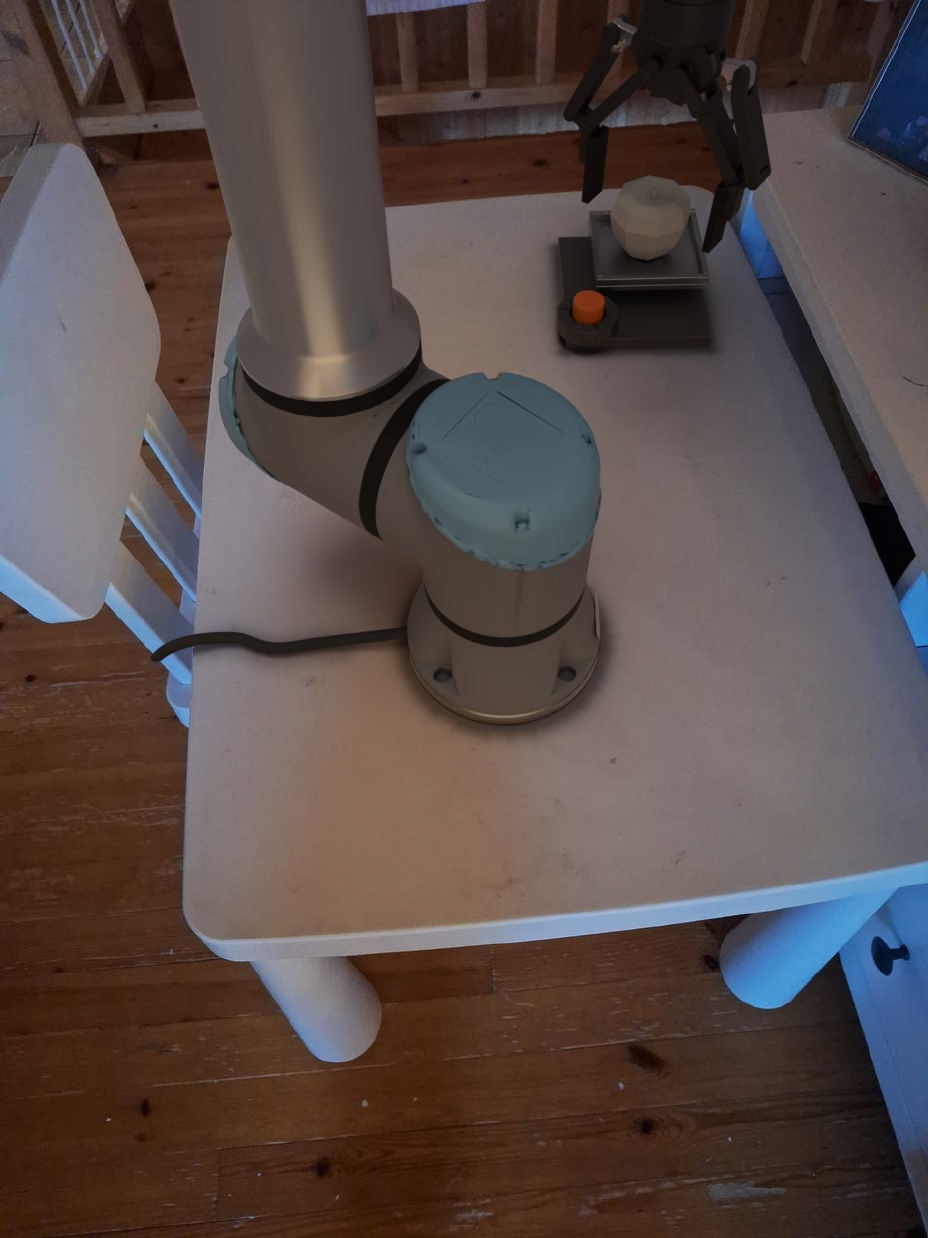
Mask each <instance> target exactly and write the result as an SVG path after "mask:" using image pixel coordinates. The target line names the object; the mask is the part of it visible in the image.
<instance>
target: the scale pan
mask: <svg viewBox="0 0 928 1238" xmlns="http://www.w3.org/2000/svg"><path fill="white" fill-rule="evenodd" d="M691 210H692V211H691V213H690V216H689V218H688V221H687V223H686V226H685V228H684V230H683V232H682V234H681V236H680V238H679V240H678V242H677V244H676V245H675V246H674V247H673V248H672V249H671V250H670V251H669V252H668V253H667V254H665V255H662V256H660V257H657V258H654V259H651V260H643V259H638V258H633V257H631V256H630V255H629V254H628V253H627V252H626V251H625V250H624V249H623V248H622V247H621V246H620V244H619V243H618V241H617V239H616V238H615V236H614V234H613V231H612V225H611V218H610V213H611V211H612V209H611V210H589V211H588V218H587V226H588V235H589V236H590V245H591V253H592V262H593V271H594V279H595V288H596V291H628V290H671V289H701V290H706V289H707V290H708V287H709V282H710V278H711V276H710V271H709V266H708V261H707V256H706V253H705V252H703V251H702V246H703V238H702V234H701V229H700V226H699V221H698V216H697V211H696V208H693V207H691Z"/></svg>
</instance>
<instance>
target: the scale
mask: <svg viewBox="0 0 928 1238" xmlns="http://www.w3.org/2000/svg"><path fill="white" fill-rule="evenodd" d="M557 254H558V268H559V278H560V290H561V302H560V303H559V304H558V306H557V308H556V316H555V317H556V318H555V322H556V331H557V333H558V334H559V335H560V336H561V337H562V338H563V339H564V341H565V348H566V349H565V350H566V351H586V350H587V351H589V350H629V349H630V350H635V349H670V348H671V349H678V348H708V347H709V346H710V342H711V338H712V335H711V330H710V325H709V321H708V316H707V311H706V305H705V302H704V297H703V291H702V289H671V290H628V291H596V288H595V279H594V271H593V262H592V253H591V245H590V236H559V237H558V240H557ZM587 290H590V291H595V292H598V293H600V294H601V295H602V296H603V297H604V300H605V304H604V312H603V318H602V319H601V321H600V322H598V323H596V324H594V325H584V324H581V323H578V322H576V321H575V320H574V318H573V316H572V310H573V300H574V297H575V296H576V294H578V293H579V292H582V291H587Z"/></svg>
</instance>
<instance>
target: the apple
mask: <svg viewBox="0 0 928 1238" xmlns="http://www.w3.org/2000/svg"><path fill="white" fill-rule="evenodd" d="M613 204H614V205H613V206H612V209H611V210H612V211H611V213H610V218H611V225H612V231H613V234H614V236H615V238H616V239H617V241H618V243H619V244H620V246H621V247H622V248H623V249H624V250H625V251H626V252H627V253H628V254H629V255H630V256H631V257H633V258H638V259H643V260H651V259H654V258H657V257H660V256H662V255H665V254H667V253H668V252H669V251H670V250H671V249H672V248H673V247H674V246H675V245H676V244H677V242H678V240H679V238H680V236H681V234H682V232H683V230H684V228H685V226H686V223H687V221H688V218H689V216H690V213H691V211H692V210H691V208H692V203H691V197H690V195H689V194H688V193H687V192H686V191H685V190H684V188H682V186H680V185H679V184H678V183H677V182H676V181H675V180H674V179H670V178H664V177H660V176H659V177H658V176H653V175H646V176H643V177H639V178H636V179H632V180H630V181H627V182H624V183H623V185H622V187H621V189H620V191H619V193H618V195H617V198H616V200H615V202H614V203H613Z"/></svg>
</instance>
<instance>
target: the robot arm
mask: <svg viewBox="0 0 928 1238" xmlns="http://www.w3.org/2000/svg"><path fill="white" fill-rule="evenodd" d="M736 1H737V0H639V4H638V13H637V27H636V26H634V25H632V24H630V20H629V18H628V15H626V14H625V13H620V14H619V15H617V16H616V17H615V18H614V19H612V20H611V21H609V22H608V23H607V24H605V25H604V26H603V27H602V30H601V35H600V39H599V46H598V49H597V52H596V54H595V55H594V57H593V59H592V61H591V62H590V64H589V66H588V67H587V69H586V71H585V73H584V75H583V76H582V78H581V80H580V81H579V83H578V85H577V86H576V89H575V90H574V92H573V94H572V96H571V97H570V99H569V101H568V103H567V105H566V106H565V108H564V109H563V112H562V116H563V119H564V120H565V121H566V122H567V123H570V122H571V123H572V122H573V123H574V124H575V125H576V126H577V127H578V130H579V133H580V136H579V144H578V145H579V146H578V155H577V157H578V162H579V164H581V165H583V166H584V169H583V181H582V192H581V203H584V204H586V205H589V203H591V202H592V201H593V200H594V199H596V197H598V196H599V195H600V194H601V193H602V192H603V187H604V180H605V170H606V161H607V153H608V145H609V135H610V126H607V125H605V124H602V125H601V123H602V122H604V121H605V120H606V119H607V118H608V117H609V116H610V115H611V114H613V113H614V112H615V111H616V110H617V109H618V108H620V106H622V105H623V104H624V103H625V102H626V101H627V100H629V99H630V98H631V97H632V96H633V95H634V94H635V93H636V92H638V91H639V90H640V89H641V88H642V87H643V86H644V87H645V88H646V90H648V92H650V93H649V96H650V97H654V98H656V99H666V100H668V101H669V102H670V103H672V104H673V105H677V106H679V107H682V106H683V105H686V107H687V109H688V111H689V113H690V116H691V117H692V119H694V120H696V121H697V122H698V125H699V127H700V130H701V131H702V134H703V137H704V138H705V141H706V143H707V145H708V148H709V150H710V153H711V154H712V155H711V156H712V157H713V159H714V161H715V164H716V166H717V168H718V171H719V173H720V176H721V178H722V180H721V181H720V182H719V184H717V186H715V191H714V195H713V199H712V203H711V208H710V212H709V217H708V220H707V221H708V222H707V224H706V228H705V233H704V238H703V241H702V243H703V246H702V251H703V252H705V254H707V255H708V254H710V253H711V252H712V251H713V250H714V249H715V248H716V247H717V245H719V243H720V242H721V241H722V240H723V239H724V235H725V234H724V233H725V229H726V226H727V222H728V223H729V222H730V221H731V220H732V219H733V218H734V217H735V216H736V215H737V214H738V212H740V209H741V206H742V203H743V202H742V201H743V198H744V195H745V190H746V189H748V190H749V191H751V192H753V191H756V190H757V189H758V188H759V187H760V186H761V185H763V183H764V182H765V181H766V180H767V179H768V178H769V177H770V176H771V174H772V166H771V165H772V164H771V160H770V159H771V158H770V153H769V148H768V141H767V135H766V130H765V129H766V128H765V124H764V118H763V112H762V105H761V99H760V94H759V87H758V86H759V79H760V73H761V60H760V58H759V57H758V56H756V55H751V56H749V57H748V58H747V59H746V60H743V59H737V58H732V57H728V53H727V41H728V37H729V34H730V30H731V25H732V22H733V21H732V20H733V16H734V11H735V6H736ZM864 1H865V2H869V3H880V2H882V1H883V0H864ZM172 2H173V8H174V11H175V15H176V18H177V22H178V26H179V31H180V34H181V38H182V42H183V45H184V46H183V47H184V50H185V54H186V58H187V63H188V66H189V69H190V70H189V71H190V74H191V78H192V82H193V85H194V89H195V93H196V98H197V101H198V105H199V108H200V113H201V117H202V121H203V125H204V129H205V132H206V137H207V141H208V144H209V148H210V153H211V156H212V161H213V164H214V168H215V172H216V176H217V180H218V184H219V187H220V192H221V196H222V200H223V204H224V208H225V211H226V216H227V219H228V223H229V227H230V231H231V235H232V240H233V242H234V248H235V251H236V255H237V258H238V263H239V268H240V270H241V274H242V279H243V282H244V287H245V291H246V294H247V298H248V302H249V307H248V309H247V310H246V311H245V313H244V314H243V316H242V317H241V320H240V321H239V324H238V326H237V330H236V333H235V335H234V337H233V338H232V340H231V341H230V343H229V345H228V348H227V350H226V352H225V356H224V359H223V360H222V361H223V362H222V363H223V364H224V365H225V366H226V367H227V373H226V374H225V375H223V376H221V377H219V380H218V390H217V392H218V393H217V395H218V396H217V398H218V408H219V413H220V417H221V420H222V424H223V427H224V429H225V431H226V433H227V436H228V437H229V439H230V440H231V442H232V444H233V445H234V447H235V448H236V449H237V450H238V451H239V452H240V453H241V454H242V455H243V456H244V457H245V458H247V459H248V460H249V461H251V462H252V463H253V464H254V466H256V467H257V468H258V469H259V470H260V471H261V472H262V473H264V474H265V475H267V476H268V477H269V478H271V479H273V480H275V481H277V482H278V483H281V484H283V485H285V486H286V487H289V488H291V489H293V490H294V491H296V492H298V493H300V494H302V495H304V496H305V497H307V498H308V499H310V500H311V501H314V502H315V503H317V504H318V505H320V506H321V507H323V508H325V509H327V510H329V511H330V512H332V513H333V514H336V515H337V516H339V517H340V518H342V519H344V520H346V521H348V522H349V523H351V524H353V525H354V526H356V527H358V528H359V529H360V530H363V531H364V532H366V533H368V534H370V536H373V537H375V538H377V539H378V540H380V541H381V542H383V543H385V544H386V545H388V546H390V547H391V548H393V549H395V550H396V551H398V552H400V553H402V554H403V555H405V556H406V557H408V558H410V559H411V560H413V561H414V562H416V563H417V564H418V565H420V567H421V572H422V573H421V574H422V580H421V582H420V584H419V586H418V588H417V590H416V591H415V592H416V593H415V595H414V597H413V598H412V602H411V604H410V608H409V611H408V615H407V616H408V617H407V621H406V623H407V624H406V626H399V627H390V628H382V629H372V630H365V631H357V632H349V633H342V634H332V635H325V636H316V637H309V638H302V639H296V640H291V641H267V640H263V639H260V638H257V637H255V636H253V635H250V634H247V633H243V632H238V631H209V632H199V633H193V634H188V635H183V636H181V637H177V638H174V639H172V640H170V641H168V642H166V643H164V644H162V645H160V646H159V647H158V648H157V649H156V650H154V652H153V653H152V654H151V655H150V660H151V661H152V662H153V663H159V662H162V661H163V660H164V659H166V658H167V657H169V656H170V655H172V654H175V653H177V652H179V651H181V650H185V649H189V648H192V647H197V646H205V645H206V646H207V645H221V644H222V645H227V644H228V645H229V644H230V645H239V646H243V647H246V648H249V649H252V650H254V651H256V652H259V653H263V654H266V655H267V654H268V655H289V654H295V653H301V652H308V651H315V650H324V649H332V648H340V647H347V646H356V645H363V644H372V643H381V642H389V641H390V642H391V641H399V640H406V643H407V649H408V655H409V660H410V663H411V665H412V668H413V671H414V673H415V675H416V678H417V679H418V680H419V682H420V683H421V685H422V686H423V688H424V689H425V690H426V691H427V692H428V694H430V695H431V697H433V698H434V699H435V701H437V702H439V703H440V704H441V705H442V706H444V707H445V708H447V709H448V710H450V711H452V712H453V713H455V714H457V715H459V716H462V717H464V718H467V719H470V720H473V721H476V722H477V721H478V722H482V723H486V724H495V725H513V724H520V723H526V722H531V721H535V720H538V719H542V718H543V717H546V716H548V715H551V714H553V713H555V712H556V711H559V710H560V709H561V708H563V707H565V706H566V705H568V704H569V702H571V701H572V700H573V699H574V698H576V696H578V694H579V693H580V692H581V691H582V689H583V688H584V687H585V685H586V684H587V683H588V681H589V679H590V678H591V676H592V674H593V672H594V669H595V667H596V664H597V660H598V656H599V650H600V646H601V637H602V631H601V629H602V628H601V623H600V621H601V620H600V606H599V605H600V604H599V595H598V593H597V591H596V589H594V596H593V594H592V592H591V589H590V587H589V584H588V582H587V576H588V570H589V565H590V558H591V553H592V547H593V542H594V535H595V531H596V530H595V529H596V524H597V522H598V519H599V518H600V511H601V505H602V487H601V457H600V452H599V448H598V445H597V442H596V437H595V435H594V432H593V431H592V429H591V427H590V425H589V424H588V422H587V420H586V419H585V417H584V416H583V414H582V413H581V412H580V410H578V408H577V407H576V406H575V404H573V403H572V402H571V401H570V400H569V399H567V398H566V397H565V396H564V395H563V394H561V393H560V392H558V391H557V390H556V389H554V388H553V387H551V386H549V385H547V384H545V383H543V382H542V381H539V380H536V379H534V378H531V377H527V376H524V375H522V374H516V373H512V372H505V371H504V372H503V371H500V372H498V374H497V376H496V377H494V378H493V377H492V378H488V377H487V375H486V374H485V373H484V372H472V373H469V374H464V375H460V376H458V377H455V378H453V379H450V378H449V377H446V376H445V375H443V374H441V373H439V372H437V371H435V370H433V369H431V368H429V367H428V366H427V365H426V364H425V362H424V358H423V345H422V331H421V329H422V328H421V324H420V323H421V322H420V317H419V315H418V312H417V310H416V308H414V306H413V304H412V302H411V301H410V300H409V299H408V297H406V296H405V295H404V294H402V292H401V291H400V290H397V289H396V288H394V287H393V279H392V278H393V277H392V268H391V257H390V246H389V236H388V235H389V234H388V226H387V215H386V214H387V213H386V204H385V203H386V202H385V191H384V183H383V181H384V180H383V171H382V159H381V151H380V150H381V149H380V140H379V130H378V129H379V128H378V127H379V126H378V119H377V118H378V117H377V107H376V97H375V96H376V95H375V87H374V86H375V84H374V75H373V65H372V64H373V63H372V53H371V43H370V42H371V41H370V33H369V21H368V12H367V11H368V10H367V0H172ZM629 46H630V50H631V53H632V55H633V59H634V61H635V63H636V66H637V70H636V71H634V72H633V73H632V74H631V75H630V76H629V77H628V78H626V80H624V82H622V84H620V85H619V86H618V87H617V88H616V89H614V91H612V93H610V94H609V95H608V96H607V97H606V99H604V100H603V101H602V102H601V103H600V104H599V105H597V106H596V108H594V109H592V107H590V104H591V102H593V99H594V97H595V96H596V94H597V93H598V91H599V89H600V88H601V86H602V85H603V83H604V81H605V79H606V78H607V76H608V74H609V73H610V71H611V69H612V67H613V66H614V65H615V63H616V61H617V59H619V58H618V57H619V55H620V54H621V53H623V52H624V51H625V50H626V49H627V48H628V47H629ZM720 76H721V77H723V78H724V79H725V81H726V86H725V90H726V91H727V92H730V107H731V112H732V118H733V123H734V125H733V123H732V121H731V119H730V117H729V113H728V111H727V109H726V107H725V104H724V102H723V99H724V93H723V90H722V88H721V86H720V83H719V81H718V79H719V77H720ZM703 93H704V95H705V98H702V94H703Z"/></svg>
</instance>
